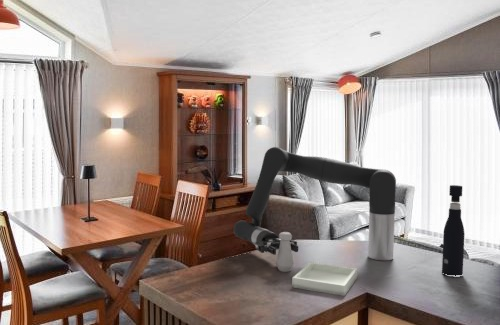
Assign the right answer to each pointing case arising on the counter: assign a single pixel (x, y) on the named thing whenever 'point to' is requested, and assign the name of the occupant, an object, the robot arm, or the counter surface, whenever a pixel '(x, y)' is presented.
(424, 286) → the counter surface
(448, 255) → the black bottle
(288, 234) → the salt shaker
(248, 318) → the counter surface
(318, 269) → the tray
